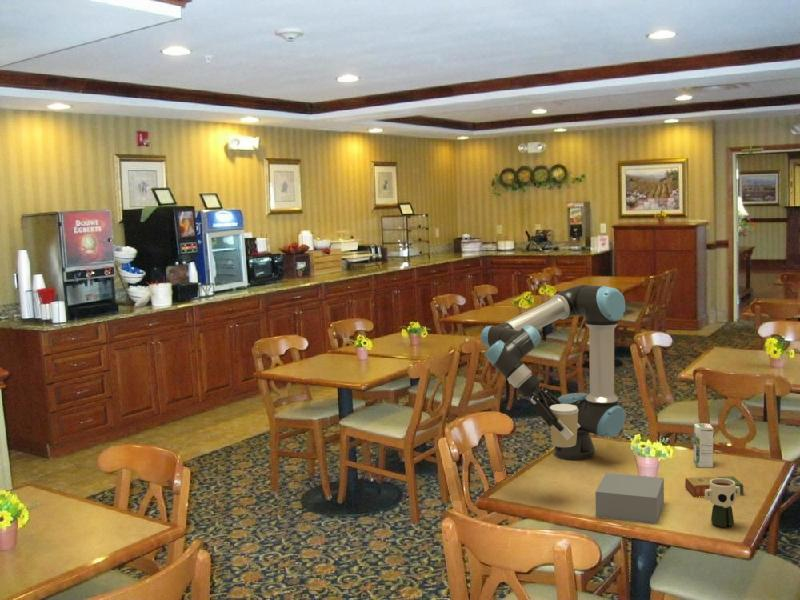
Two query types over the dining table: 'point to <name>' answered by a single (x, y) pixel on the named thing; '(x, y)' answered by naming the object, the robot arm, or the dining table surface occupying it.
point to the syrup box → (703, 445)
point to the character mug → (722, 500)
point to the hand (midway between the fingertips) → (573, 433)
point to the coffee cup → (569, 419)
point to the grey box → (630, 497)
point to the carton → (706, 485)
